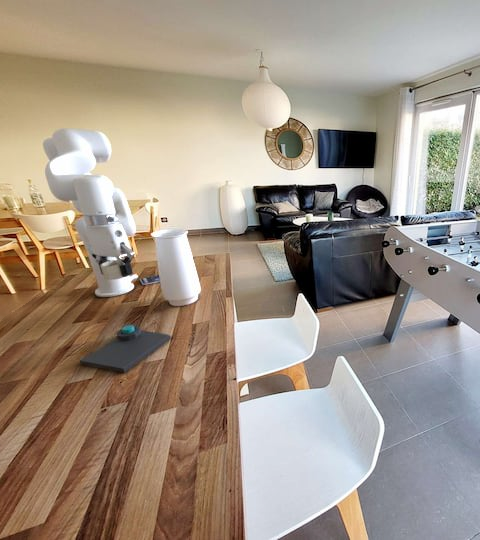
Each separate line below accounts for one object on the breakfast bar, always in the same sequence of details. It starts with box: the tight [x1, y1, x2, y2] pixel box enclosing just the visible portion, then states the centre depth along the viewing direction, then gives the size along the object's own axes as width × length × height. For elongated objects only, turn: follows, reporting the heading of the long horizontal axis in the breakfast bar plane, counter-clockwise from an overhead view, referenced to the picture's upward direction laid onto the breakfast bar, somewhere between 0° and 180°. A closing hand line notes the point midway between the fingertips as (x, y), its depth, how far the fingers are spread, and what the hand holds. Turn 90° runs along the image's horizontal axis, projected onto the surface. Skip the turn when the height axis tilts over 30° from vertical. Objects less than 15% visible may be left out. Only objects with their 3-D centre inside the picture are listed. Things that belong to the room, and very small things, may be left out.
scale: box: [79, 324, 171, 373], centre depth 85 cm, size 16×14×3 cm
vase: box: [150, 228, 201, 307], centre depth 110 cm, size 13×13×28 cm
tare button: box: [121, 324, 135, 334], centre depth 90 cm, size 3×3×2 cm
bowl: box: [100, 260, 127, 280], centre depth 92 cm, size 7×7×4 cm
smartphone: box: [139, 274, 160, 286], centre depth 132 cm, size 8×1×15 cm
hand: (117, 273), depth 93 cm, fingers closed on bowl, 6 cm apart
